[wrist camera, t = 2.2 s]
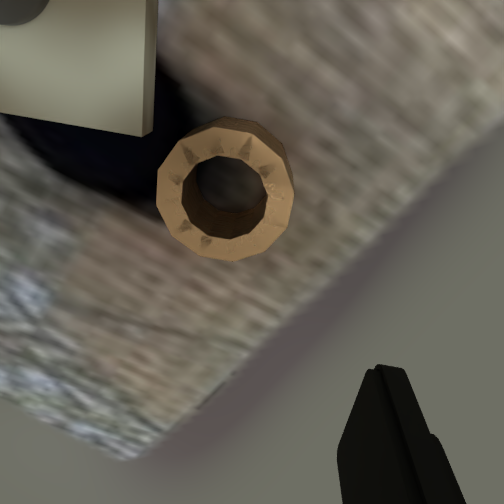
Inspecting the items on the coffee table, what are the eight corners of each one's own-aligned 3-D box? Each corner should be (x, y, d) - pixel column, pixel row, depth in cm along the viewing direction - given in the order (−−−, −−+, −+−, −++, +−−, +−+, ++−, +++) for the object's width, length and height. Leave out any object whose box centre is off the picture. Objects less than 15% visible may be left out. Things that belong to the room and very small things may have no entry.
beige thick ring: (179, 108, 22) (160, 117, 18) (301, 129, 22) (305, 142, 19) (171, 221, 25) (153, 248, 22) (278, 239, 25) (278, 269, 22)
